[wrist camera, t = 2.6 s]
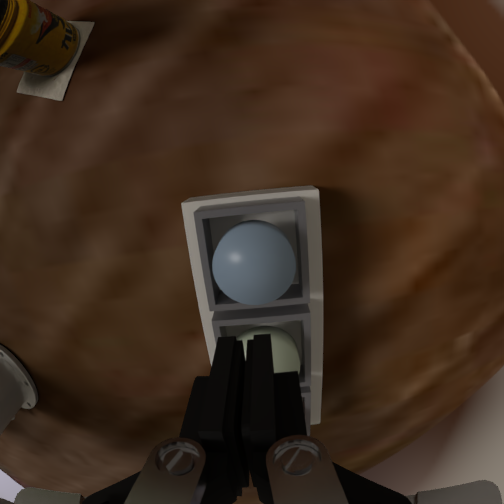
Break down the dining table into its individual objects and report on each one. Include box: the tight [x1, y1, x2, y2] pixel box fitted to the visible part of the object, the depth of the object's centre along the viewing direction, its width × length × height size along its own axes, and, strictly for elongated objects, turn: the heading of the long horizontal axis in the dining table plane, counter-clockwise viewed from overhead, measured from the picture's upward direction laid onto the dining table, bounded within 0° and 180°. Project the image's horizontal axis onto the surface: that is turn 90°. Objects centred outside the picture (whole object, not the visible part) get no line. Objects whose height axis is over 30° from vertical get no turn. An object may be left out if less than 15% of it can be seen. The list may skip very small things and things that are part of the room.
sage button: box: [237, 326, 300, 375], centre depth 22 cm, size 5×5×2 cm
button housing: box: [181, 186, 323, 436], centre depth 26 cm, size 24×10×6 cm, turn 6°
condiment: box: [0, 0, 95, 101], centre depth 15 cm, size 7×8×12 cm
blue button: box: [212, 220, 296, 305], centre depth 20 cm, size 5×5×2 cm
